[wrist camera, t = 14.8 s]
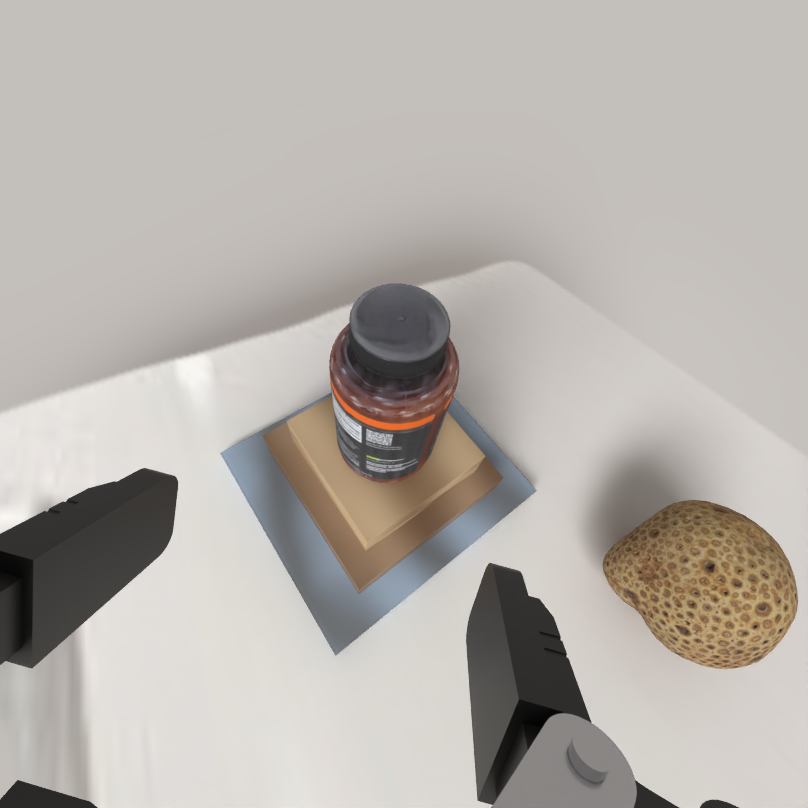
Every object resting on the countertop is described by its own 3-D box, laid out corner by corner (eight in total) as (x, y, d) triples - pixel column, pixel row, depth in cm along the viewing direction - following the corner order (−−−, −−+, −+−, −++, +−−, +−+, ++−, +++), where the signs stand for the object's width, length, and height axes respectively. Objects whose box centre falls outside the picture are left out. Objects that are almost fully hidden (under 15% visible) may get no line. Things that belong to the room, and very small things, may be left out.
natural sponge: (736, 634, 29) (900, 632, 20) (635, 687, 26) (770, 710, 18) (657, 511, 33) (766, 466, 24) (564, 548, 30) (646, 512, 22)
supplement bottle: (413, 390, 28) (445, 255, 18) (445, 470, 25) (504, 362, 15) (326, 411, 26) (309, 276, 16) (351, 499, 23) (348, 399, 14)
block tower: (410, 356, 38) (420, 302, 32) (531, 494, 32) (572, 461, 26) (223, 458, 31) (192, 414, 25) (336, 655, 25) (330, 659, 19)
